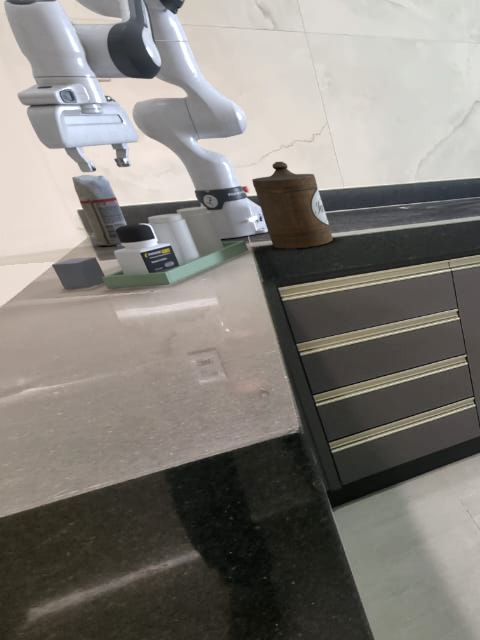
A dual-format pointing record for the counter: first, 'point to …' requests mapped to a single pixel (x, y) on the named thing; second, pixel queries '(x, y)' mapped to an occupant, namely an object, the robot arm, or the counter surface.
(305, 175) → the wooden container
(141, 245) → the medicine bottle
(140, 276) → the tray
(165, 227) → the white bottle
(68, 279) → the grey box
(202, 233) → the white bottle
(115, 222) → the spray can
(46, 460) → the counter surface
